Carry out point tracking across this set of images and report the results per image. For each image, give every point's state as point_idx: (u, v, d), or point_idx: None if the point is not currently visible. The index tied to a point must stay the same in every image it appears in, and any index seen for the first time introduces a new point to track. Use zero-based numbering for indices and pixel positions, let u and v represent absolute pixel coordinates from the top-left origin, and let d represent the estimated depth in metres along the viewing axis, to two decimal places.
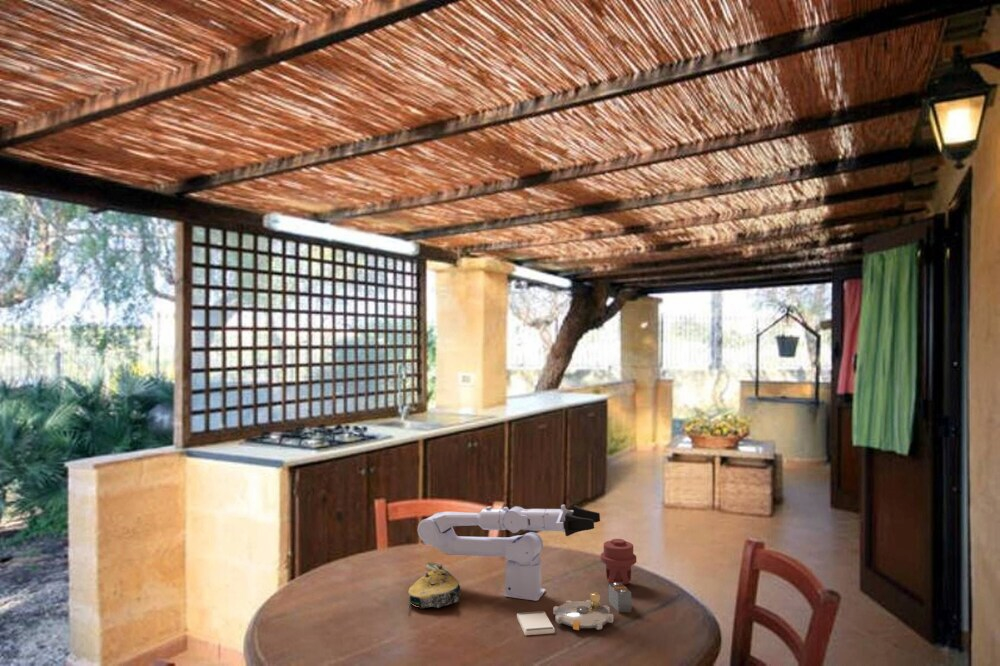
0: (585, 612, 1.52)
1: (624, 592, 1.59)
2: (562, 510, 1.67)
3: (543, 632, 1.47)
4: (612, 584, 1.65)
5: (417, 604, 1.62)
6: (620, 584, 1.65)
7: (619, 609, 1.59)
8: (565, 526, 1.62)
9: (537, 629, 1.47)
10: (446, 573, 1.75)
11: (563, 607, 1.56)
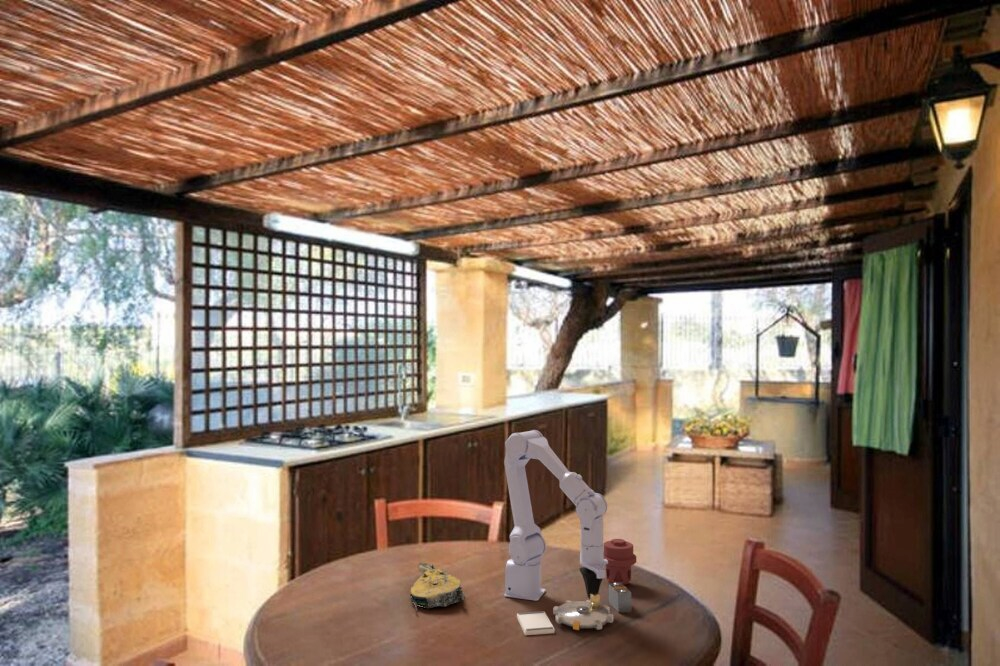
0: (585, 612, 1.52)
1: (624, 592, 1.59)
2: (604, 563, 1.58)
3: (543, 632, 1.47)
4: (612, 584, 1.65)
5: (423, 604, 1.62)
6: (620, 584, 1.65)
7: (619, 609, 1.59)
8: (595, 573, 1.57)
9: (537, 629, 1.47)
10: (444, 572, 1.75)
11: (563, 607, 1.56)
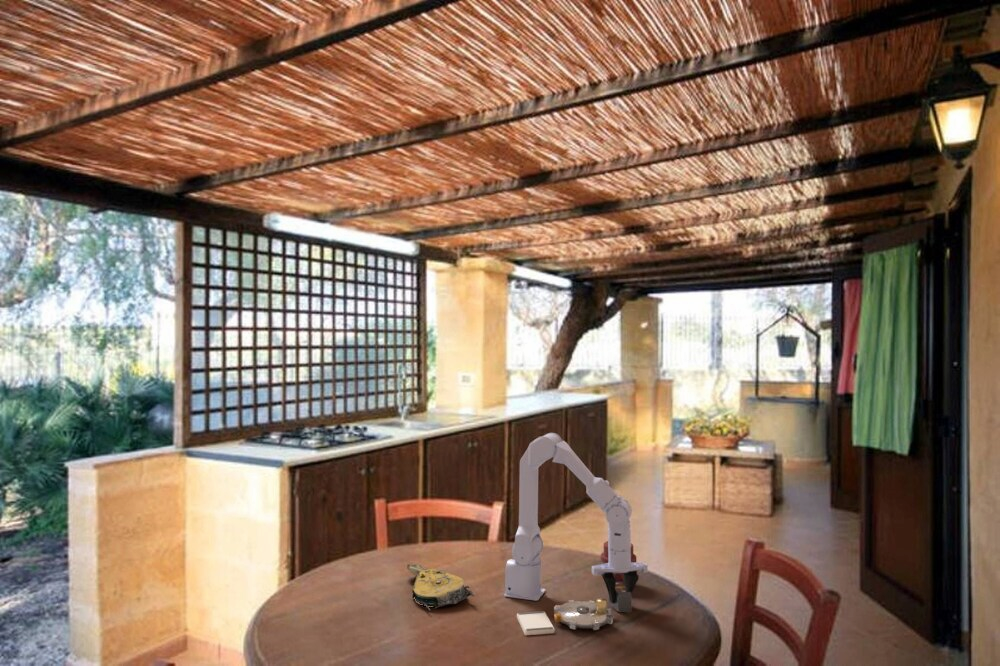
0: (580, 612, 1.52)
1: (624, 592, 1.59)
2: None
3: (543, 632, 1.47)
4: None
5: (432, 604, 1.62)
6: (620, 584, 1.65)
7: (619, 609, 1.59)
8: None
9: (537, 629, 1.47)
10: (440, 571, 1.76)
11: (576, 603, 1.59)
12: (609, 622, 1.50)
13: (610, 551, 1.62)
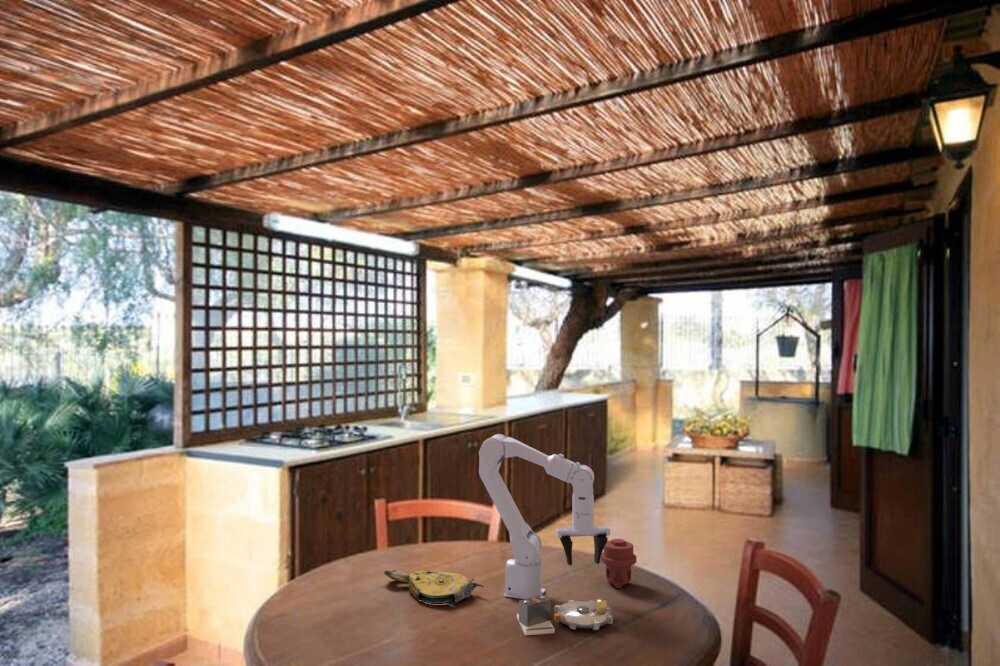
0: (580, 612, 1.52)
1: (523, 602, 1.50)
2: None
3: (543, 632, 1.47)
4: (541, 596, 1.54)
5: (447, 602, 1.64)
6: (545, 599, 1.52)
7: (519, 618, 1.51)
8: None
9: (537, 629, 1.47)
10: (429, 571, 1.76)
11: (576, 603, 1.59)
12: (609, 622, 1.50)
13: (574, 514, 1.67)
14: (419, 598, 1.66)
